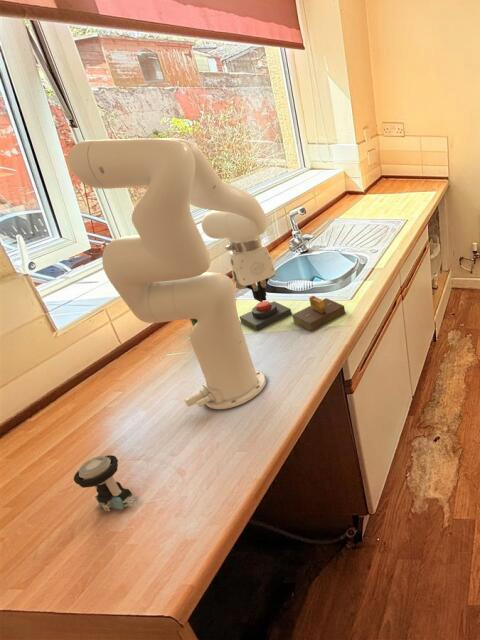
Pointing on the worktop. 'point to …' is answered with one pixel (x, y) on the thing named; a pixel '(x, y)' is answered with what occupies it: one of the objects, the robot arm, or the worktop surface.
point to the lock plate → (318, 315)
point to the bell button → (263, 306)
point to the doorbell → (265, 316)
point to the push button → (104, 482)
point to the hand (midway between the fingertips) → (261, 299)
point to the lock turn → (317, 304)
